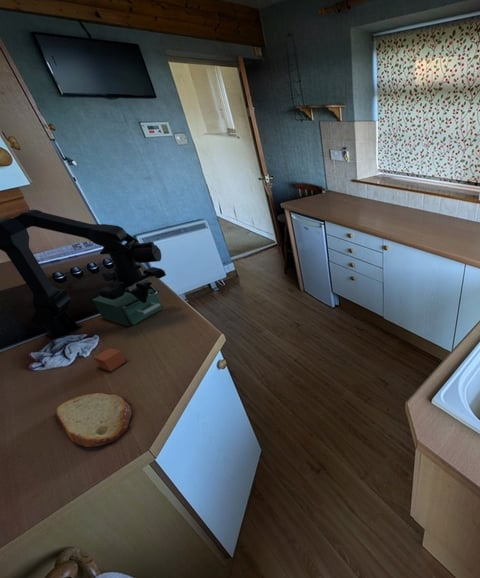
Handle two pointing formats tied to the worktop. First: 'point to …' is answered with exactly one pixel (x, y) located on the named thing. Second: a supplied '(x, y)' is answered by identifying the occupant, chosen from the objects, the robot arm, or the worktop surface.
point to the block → (110, 359)
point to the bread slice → (94, 418)
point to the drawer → (142, 308)
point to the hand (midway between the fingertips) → (144, 302)
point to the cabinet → (115, 307)
